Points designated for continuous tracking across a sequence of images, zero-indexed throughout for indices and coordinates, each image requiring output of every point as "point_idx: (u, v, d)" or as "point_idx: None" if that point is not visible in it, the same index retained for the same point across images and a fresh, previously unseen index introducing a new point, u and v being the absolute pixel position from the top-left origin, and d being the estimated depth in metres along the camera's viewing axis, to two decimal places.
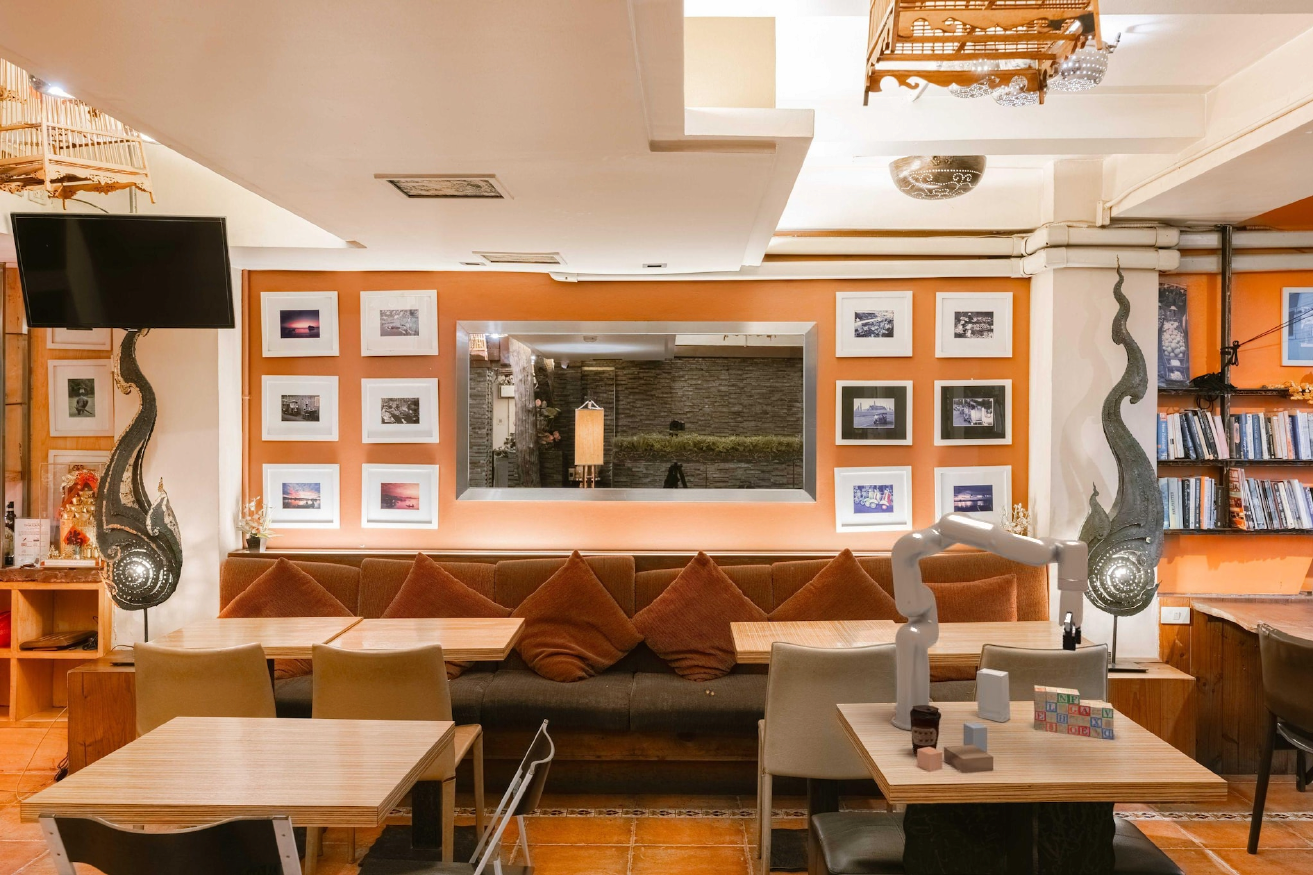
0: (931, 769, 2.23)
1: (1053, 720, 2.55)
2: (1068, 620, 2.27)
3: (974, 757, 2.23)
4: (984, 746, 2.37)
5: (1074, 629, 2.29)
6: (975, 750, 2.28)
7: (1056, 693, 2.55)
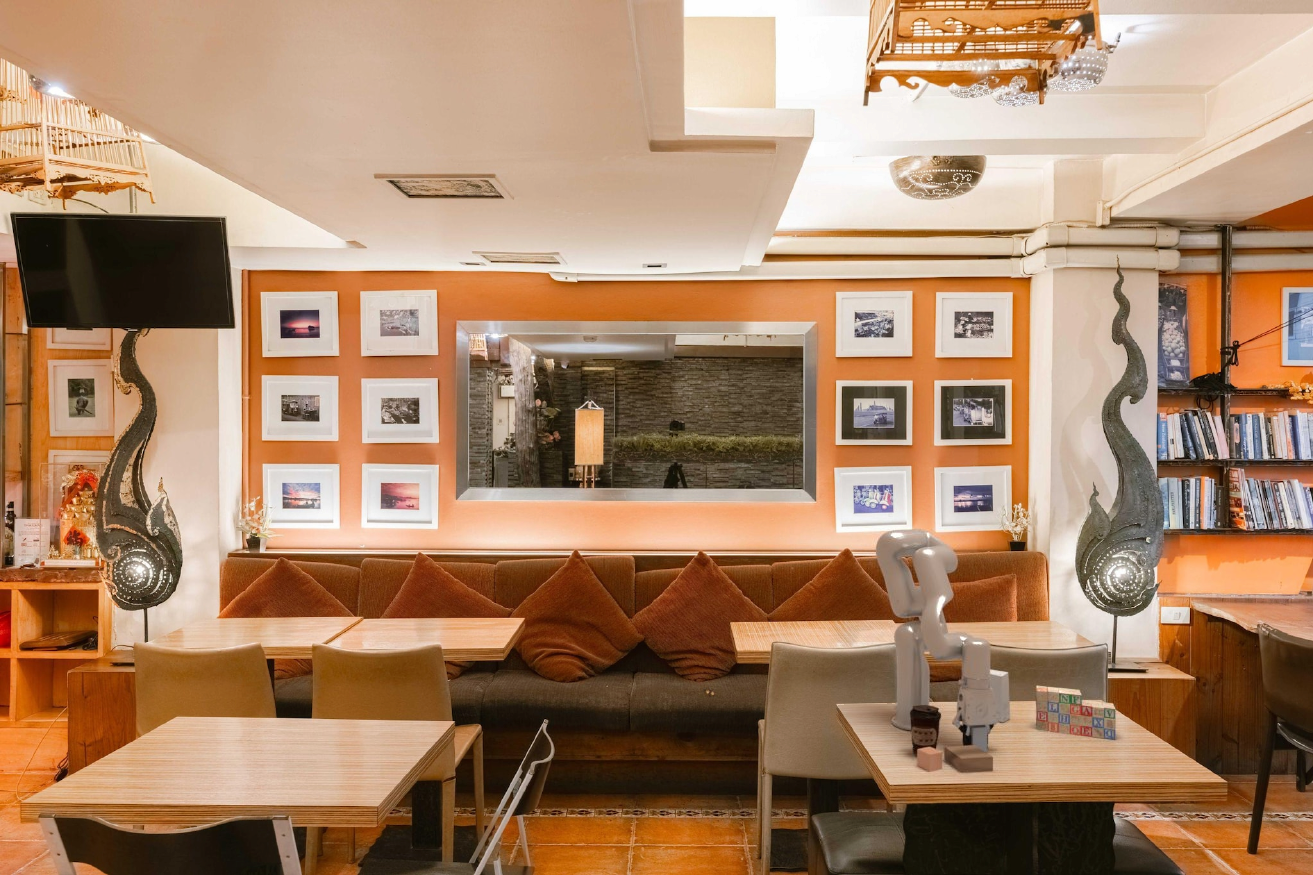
0: (931, 769, 2.23)
1: (1055, 720, 2.55)
2: None
3: (973, 757, 2.23)
4: (984, 746, 2.37)
5: None
6: (975, 750, 2.28)
7: (1058, 693, 2.55)
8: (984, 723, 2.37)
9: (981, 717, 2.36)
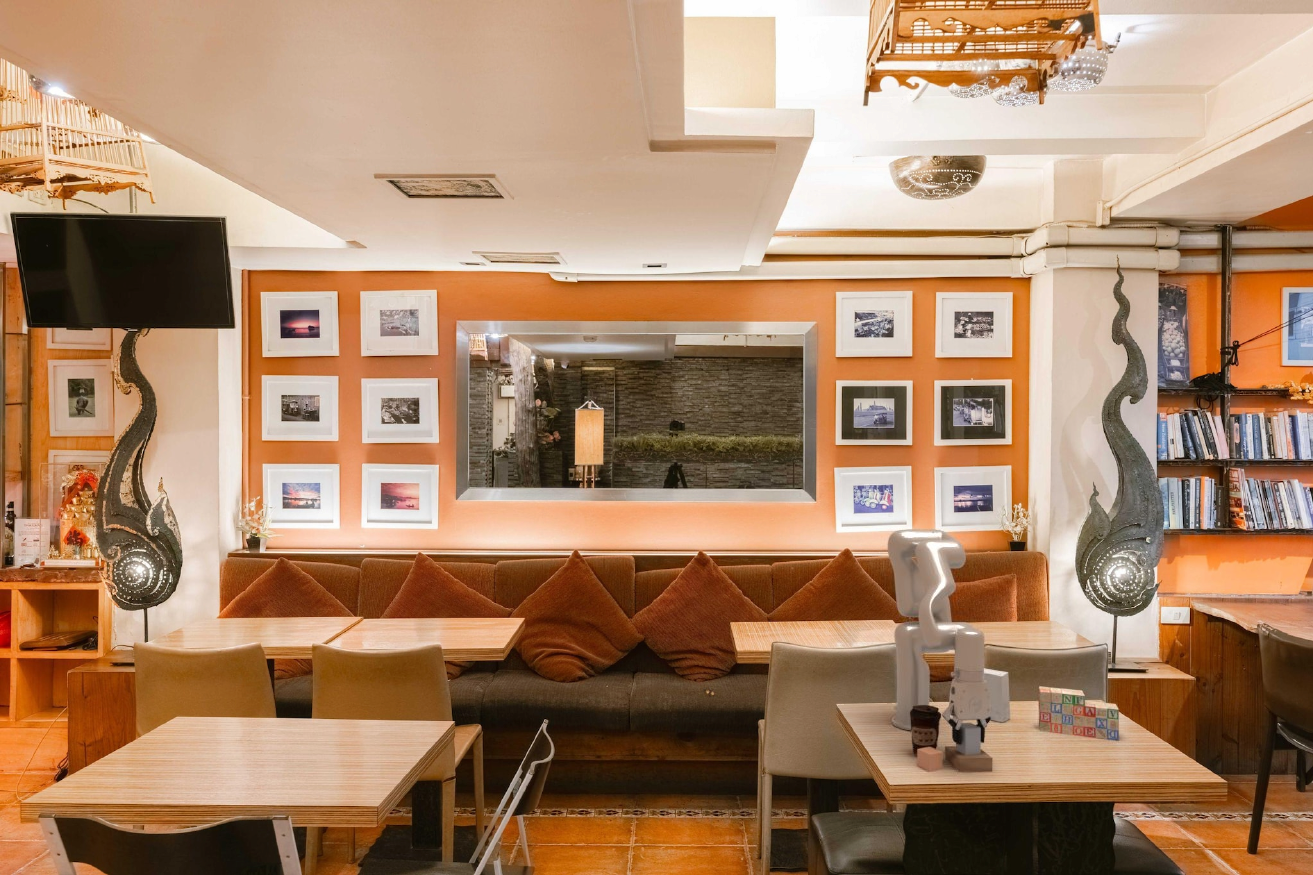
0: (931, 769, 2.23)
1: (1058, 721, 2.54)
2: None
3: (971, 757, 2.23)
4: (977, 748, 2.25)
5: None
6: None
7: (1061, 694, 2.54)
8: (978, 717, 2.25)
9: (974, 711, 2.25)
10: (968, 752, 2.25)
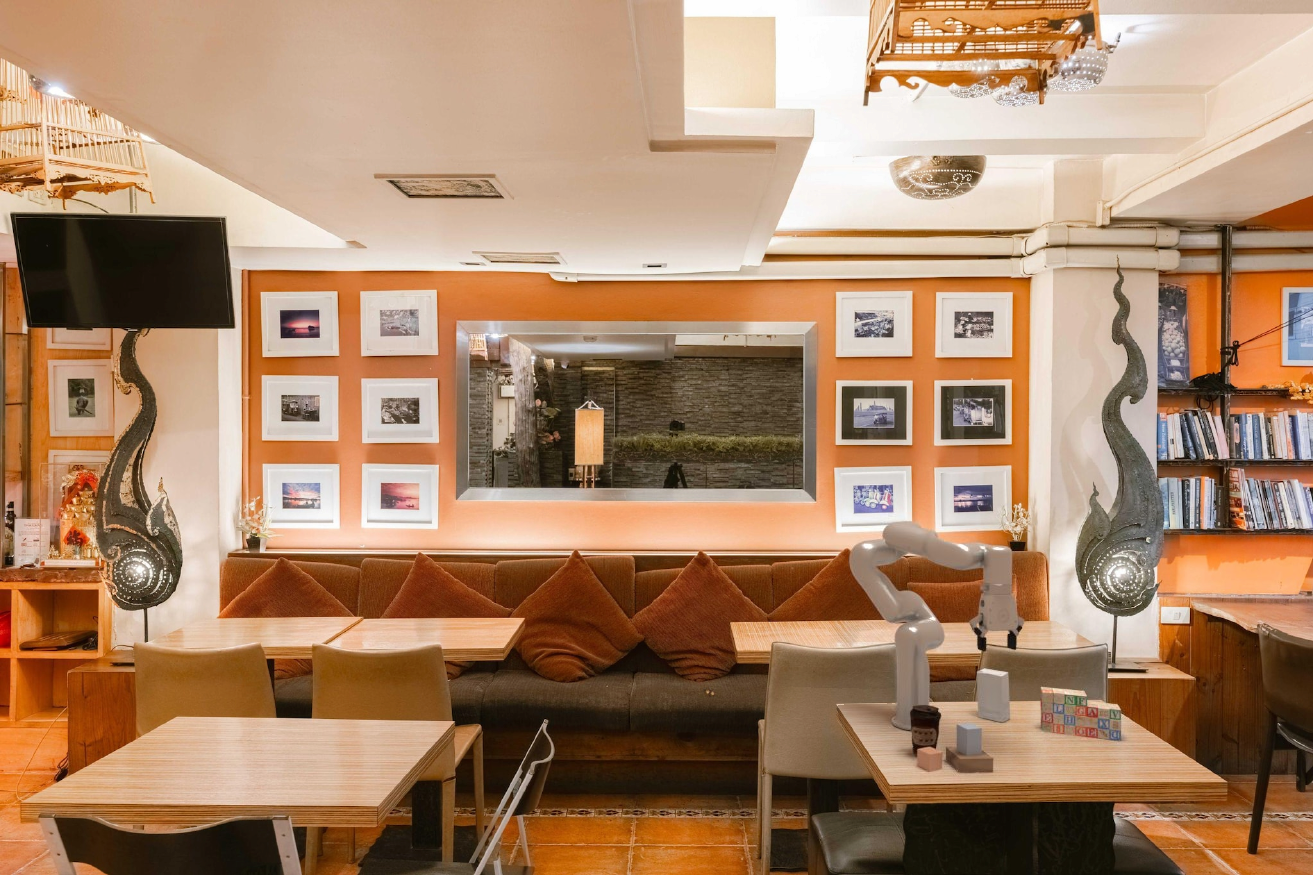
0: (931, 769, 2.23)
1: (1060, 722, 2.54)
2: (1021, 618, 2.42)
3: (972, 758, 2.23)
4: (978, 748, 2.25)
5: None
6: None
7: (1063, 695, 2.54)
8: (1006, 628, 2.37)
9: (1003, 622, 2.37)
10: (969, 752, 2.25)
